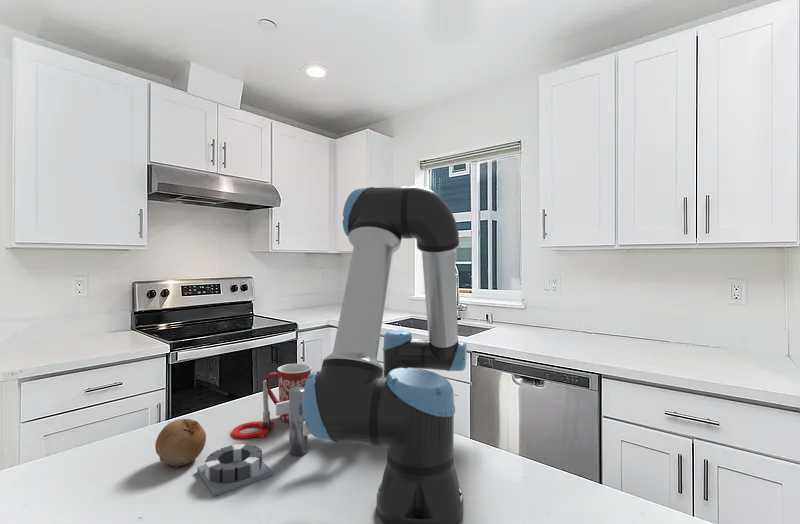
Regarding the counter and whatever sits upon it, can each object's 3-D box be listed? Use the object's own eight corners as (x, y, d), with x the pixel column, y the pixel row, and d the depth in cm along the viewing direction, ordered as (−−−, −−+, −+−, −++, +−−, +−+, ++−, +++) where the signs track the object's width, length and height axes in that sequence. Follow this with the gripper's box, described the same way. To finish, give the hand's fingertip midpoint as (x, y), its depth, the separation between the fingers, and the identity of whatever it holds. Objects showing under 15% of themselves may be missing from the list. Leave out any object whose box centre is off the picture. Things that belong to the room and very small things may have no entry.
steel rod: (310, 452, 91) (310, 390, 91) (294, 458, 89) (294, 394, 88) (302, 446, 94) (302, 385, 94) (286, 451, 92) (286, 389, 91)
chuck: (272, 475, 82) (272, 458, 82) (213, 496, 75) (213, 477, 74) (251, 454, 90) (251, 438, 90) (197, 471, 83) (197, 454, 83)
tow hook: (225, 440, 98) (263, 440, 97) (223, 387, 98) (261, 386, 97) (241, 426, 106) (276, 425, 106) (238, 376, 106) (274, 375, 106)
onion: (200, 473, 88) (222, 432, 88) (156, 481, 80) (179, 436, 80) (182, 445, 93) (202, 406, 93) (140, 450, 86) (161, 407, 86)
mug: (316, 412, 115) (316, 364, 114) (303, 425, 106) (303, 373, 105) (274, 408, 117) (274, 361, 116) (258, 421, 108) (258, 370, 108)
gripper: (399, 428, 94) (317, 457, 81) (341, 398, 113) (266, 418, 100) (399, 395, 94) (317, 419, 80) (341, 371, 113) (266, 387, 99)
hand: (289, 418), depth 90 cm, fingers open, 13 cm apart
